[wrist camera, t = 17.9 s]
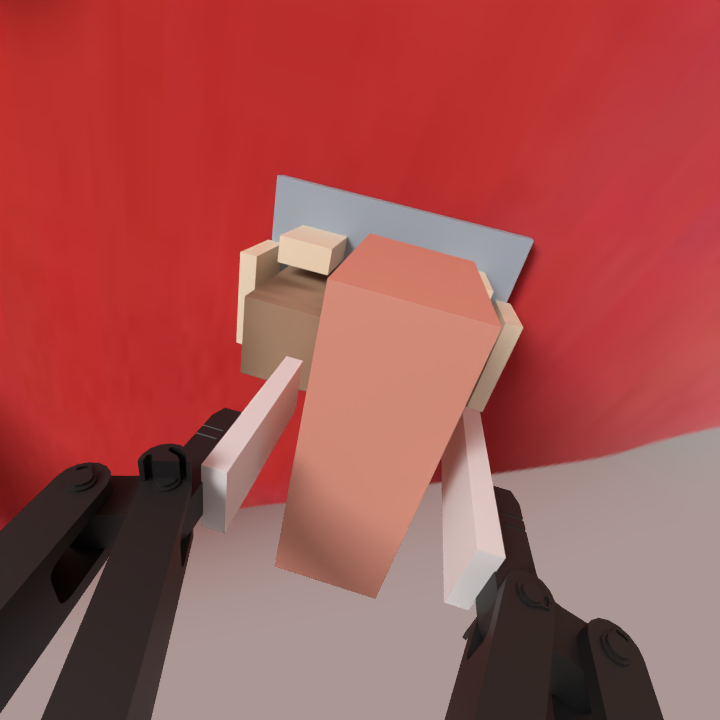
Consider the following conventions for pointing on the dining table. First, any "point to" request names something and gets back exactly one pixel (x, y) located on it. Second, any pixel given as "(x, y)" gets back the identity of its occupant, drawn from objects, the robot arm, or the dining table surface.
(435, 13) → the dining table surface
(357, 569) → the salmon pink block
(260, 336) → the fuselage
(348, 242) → the jig
